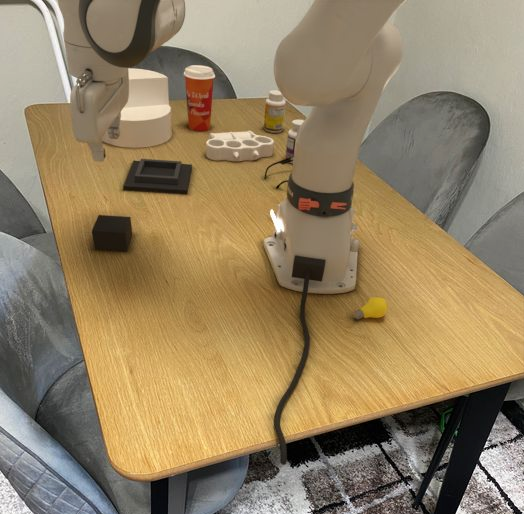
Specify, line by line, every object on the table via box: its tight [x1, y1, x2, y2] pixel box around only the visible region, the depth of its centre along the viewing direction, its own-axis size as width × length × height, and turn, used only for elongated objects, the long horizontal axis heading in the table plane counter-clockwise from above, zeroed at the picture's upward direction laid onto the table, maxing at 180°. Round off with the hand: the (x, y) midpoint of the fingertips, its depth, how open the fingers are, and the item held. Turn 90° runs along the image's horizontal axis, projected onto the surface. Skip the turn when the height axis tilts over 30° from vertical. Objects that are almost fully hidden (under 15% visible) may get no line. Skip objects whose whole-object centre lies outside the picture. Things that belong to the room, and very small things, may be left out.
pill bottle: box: [284, 119, 305, 165], centre depth 132 cm, size 5×5×10 cm
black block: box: [91, 214, 133, 253], centre depth 97 cm, size 6×6×4 cm
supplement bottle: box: [263, 89, 287, 134], centre depth 146 cm, size 6×6×10 cm
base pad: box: [122, 158, 193, 195], centre depth 120 cm, size 14×14×2 cm
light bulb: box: [353, 296, 388, 320], centre depth 87 cm, size 3×6×4 cm, turn 110°
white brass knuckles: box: [205, 130, 275, 163], centre depth 135 cm, size 3×18×15 cm
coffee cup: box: [183, 64, 216, 132], centre depth 142 cm, size 8×8×15 cm
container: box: [102, 67, 173, 149], centre depth 135 cm, size 20×20×13 cm
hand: (107, 148), depth 90 cm, fingers open, 8 cm apart
